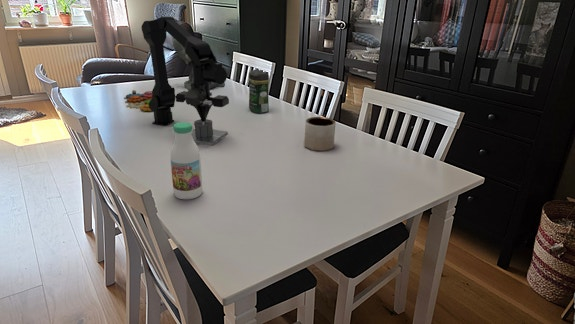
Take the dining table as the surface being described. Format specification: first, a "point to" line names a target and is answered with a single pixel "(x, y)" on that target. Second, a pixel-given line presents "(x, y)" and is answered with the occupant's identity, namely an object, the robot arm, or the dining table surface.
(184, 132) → the milk bottle
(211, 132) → the knob
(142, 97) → the gear puzzle
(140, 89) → the dining table surface
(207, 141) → the mounting plate
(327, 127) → the planter
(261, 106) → the coffee jar
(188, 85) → the stuffed elephant
